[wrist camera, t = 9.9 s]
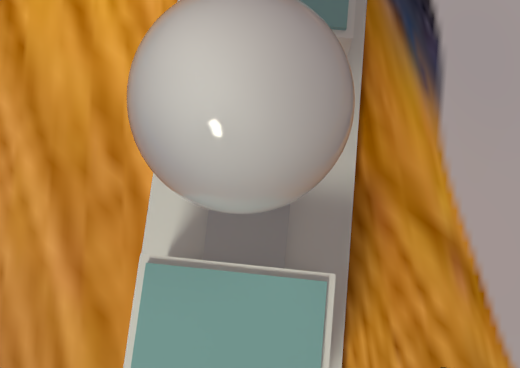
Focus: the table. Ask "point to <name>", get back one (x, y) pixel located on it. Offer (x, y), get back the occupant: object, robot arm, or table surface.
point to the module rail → (252, 264)
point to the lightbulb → (240, 102)
